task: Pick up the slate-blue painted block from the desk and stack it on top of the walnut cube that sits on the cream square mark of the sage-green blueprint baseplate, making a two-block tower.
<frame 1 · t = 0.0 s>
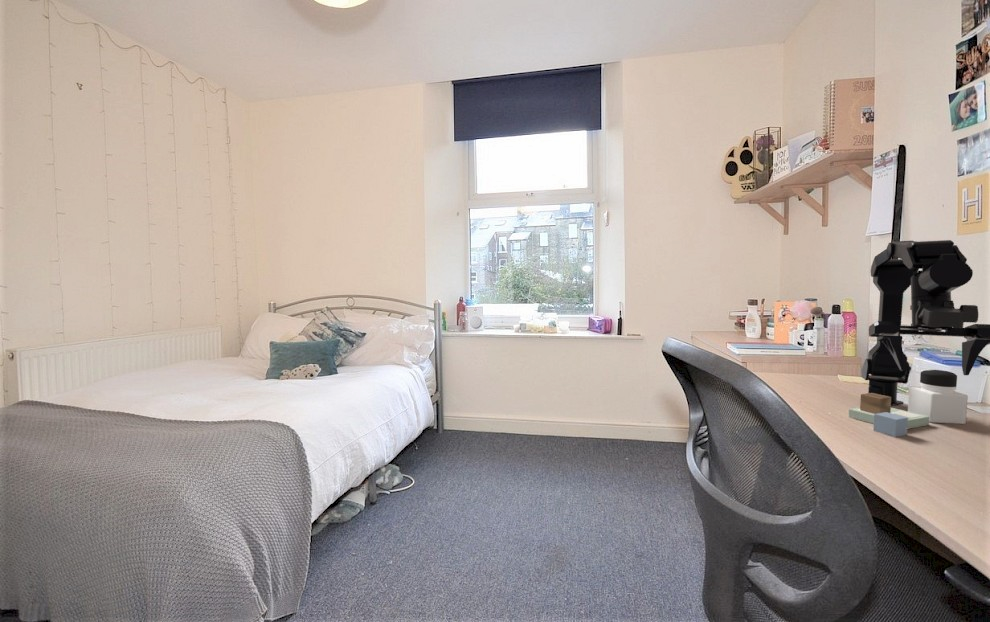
hand: (933, 372, 83), 15 cm above the table, tool pointing down, fingers open, 9 cm apart
medicine bottle: (935, 419, 99), on the table
slate block: (889, 432, 91), on the table
walnut cube: (875, 411, 99), point 2 cm above the table, touching baseplate
baseplate: (887, 420, 98), on the table
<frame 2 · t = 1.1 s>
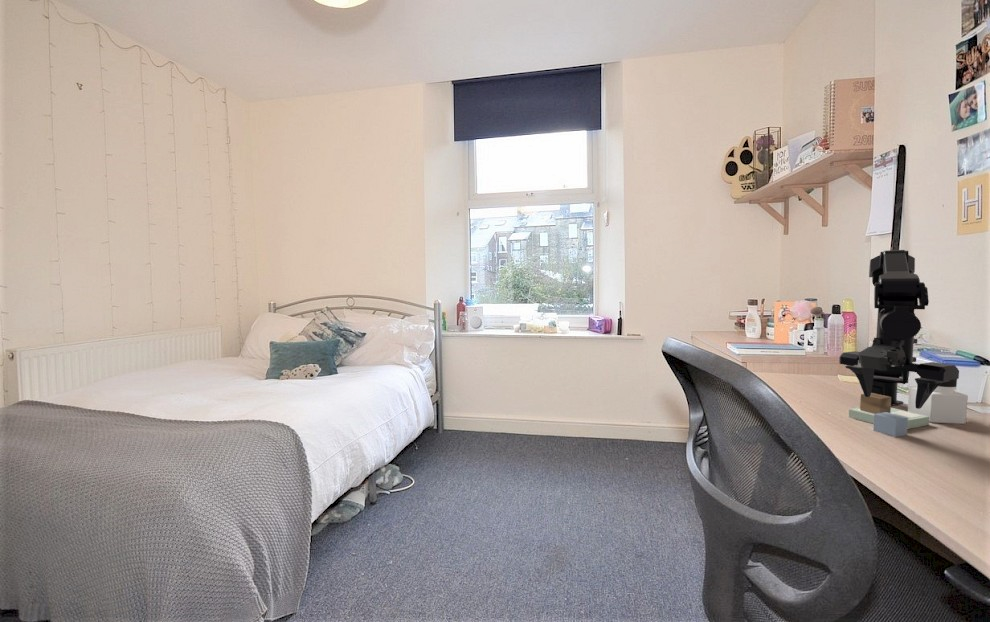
hand: (891, 402, 91), 7 cm above the table, tool pointing down, fingers open, 9 cm apart
nothing on the table moved.
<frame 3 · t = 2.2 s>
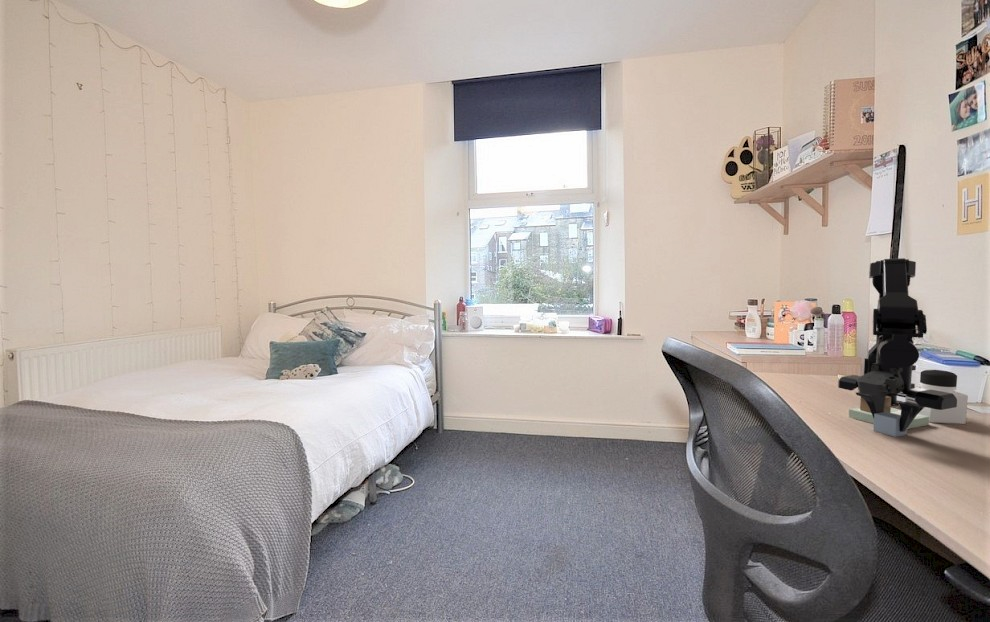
hand: (890, 428, 91), 1 cm above the table, tool pointing down, fingers closed on slate block, 4 cm apart
slate block: (889, 432, 91), on the table, touching gripper
everything else where it was.
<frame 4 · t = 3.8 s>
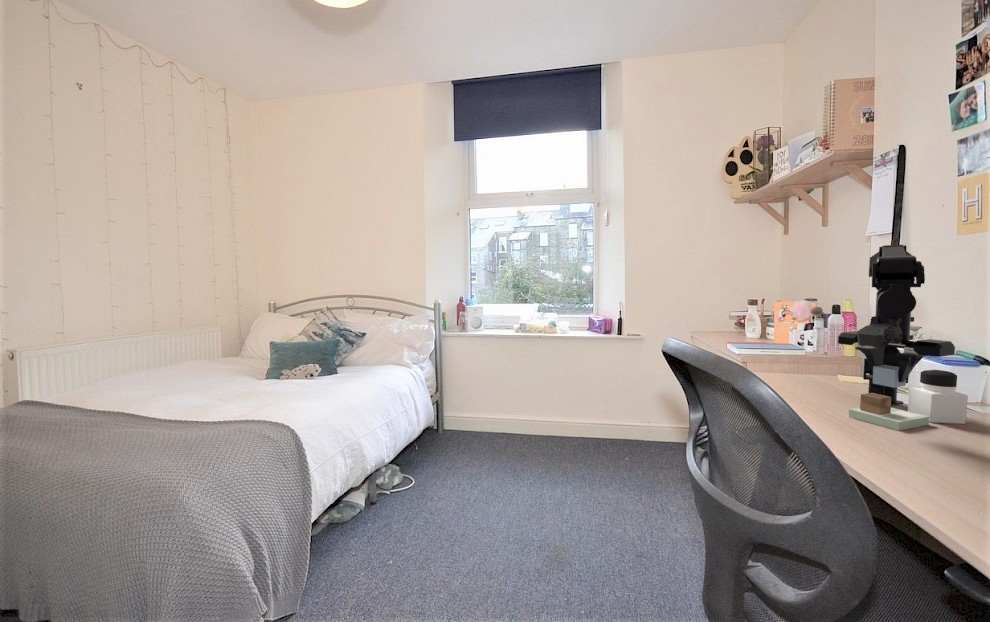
hand: (889, 379, 92), 12 cm above the table, tool pointing down, fingers closed on slate block, 4 cm apart
slate block: (888, 384, 92), point 11 cm above the table, touching gripper
everything else where it was.
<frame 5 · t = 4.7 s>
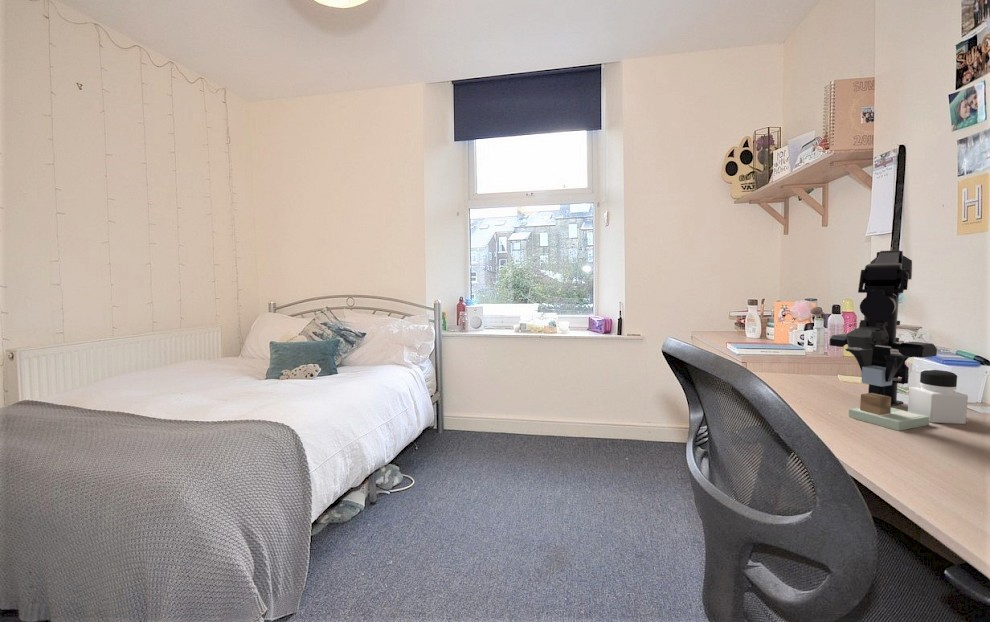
hand: (876, 379, 98), 10 cm above the table, tool pointing down, fingers closed on slate block, 4 cm apart
slate block: (876, 383, 99), point 9 cm above the table, touching gripper
everything else where it was.
when the fingers open (8 cm above the table, at t = 5.4 s): slate block drops 1 cm, resting on walnut cube.
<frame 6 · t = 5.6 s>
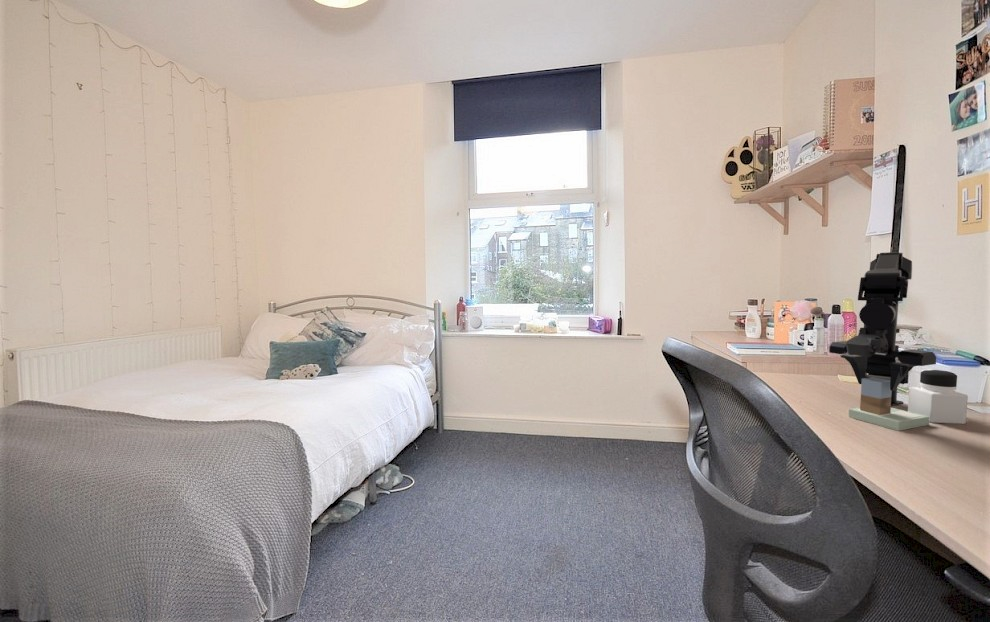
hand: (876, 387, 99), 8 cm above the table, tool pointing down, fingers open, 6 cm apart
slate block: (875, 395, 99), point 6 cm above the table, touching walnut cube
walnut cube: (875, 411, 99), point 2 cm above the table, touching baseplate, slate block
everything else where it was.
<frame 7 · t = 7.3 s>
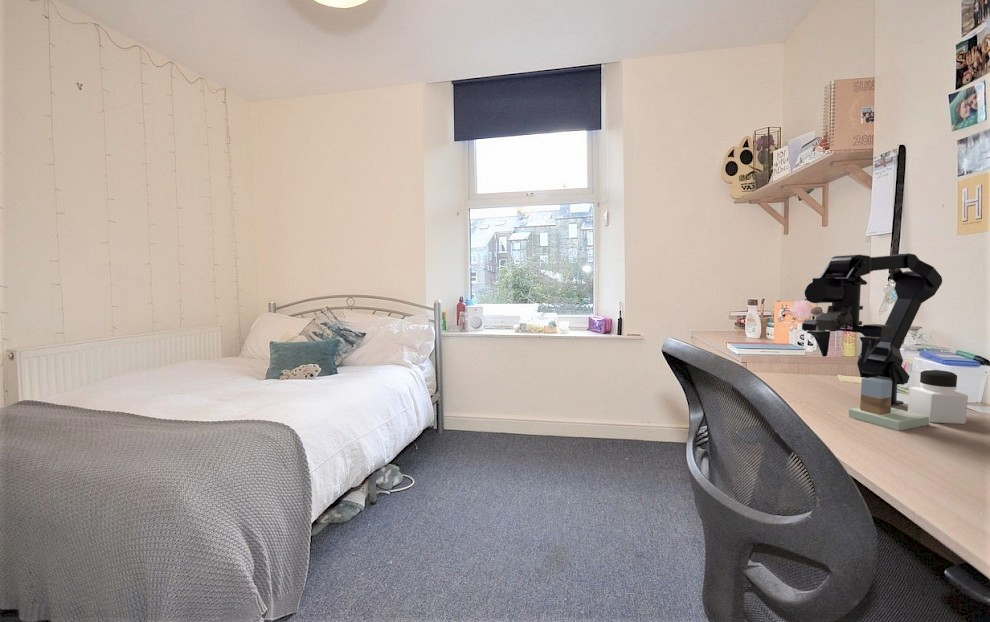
hand: (843, 359, 109), 13 cm above the table, tool pointing down, fingers open, 9 cm apart
nothing on the table moved.
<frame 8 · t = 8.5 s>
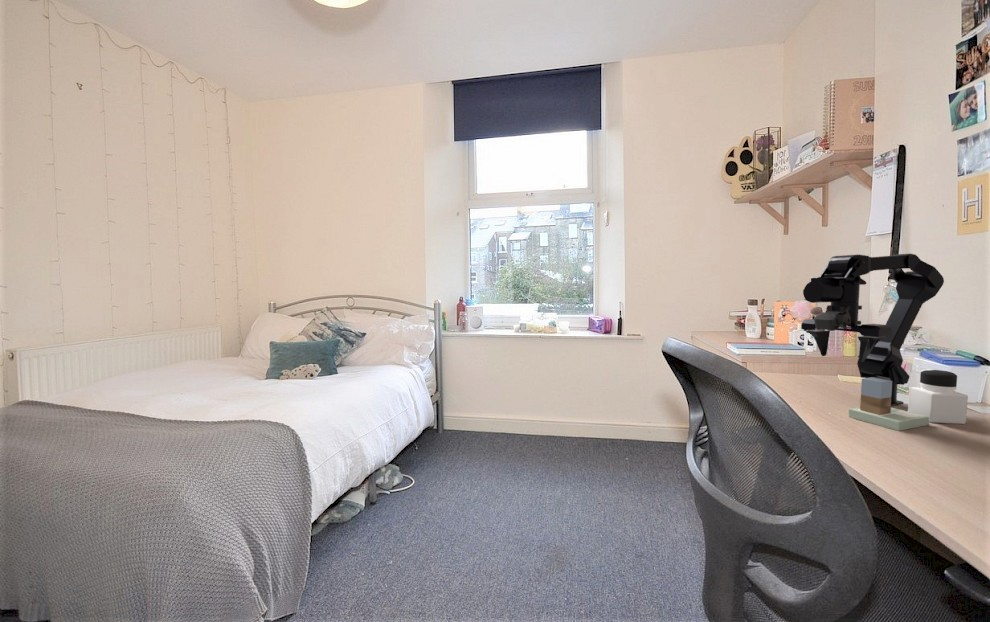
hand: (841, 358, 109), 13 cm above the table, tool pointing down, fingers open, 9 cm apart
nothing on the table moved.
at the end: slate block 0.0 cm off-centre on the walnut cube, point 4.0 cm above the walnut cube's base; slate block tilted 0°; walnut cube moved 0.0 cm from its start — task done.
